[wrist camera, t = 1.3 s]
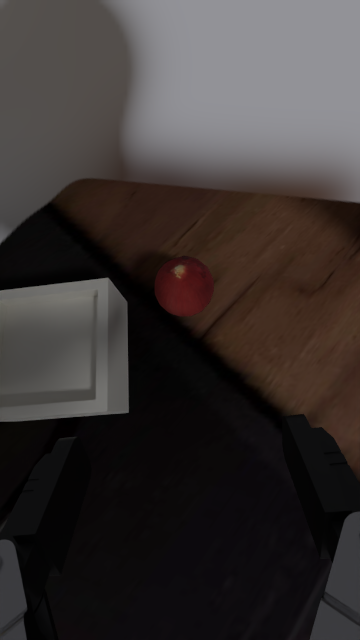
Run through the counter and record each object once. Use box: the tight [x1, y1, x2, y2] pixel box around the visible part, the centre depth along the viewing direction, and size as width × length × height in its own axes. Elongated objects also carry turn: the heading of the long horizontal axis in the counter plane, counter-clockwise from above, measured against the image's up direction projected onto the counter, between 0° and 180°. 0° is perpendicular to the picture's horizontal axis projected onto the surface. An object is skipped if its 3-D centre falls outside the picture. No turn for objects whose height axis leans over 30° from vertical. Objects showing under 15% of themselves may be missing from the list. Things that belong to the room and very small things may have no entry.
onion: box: [155, 256, 214, 316], centre depth 29 cm, size 6×6×8 cm
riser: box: [0, 278, 129, 422], centre depth 30 cm, size 12×12×6 cm
